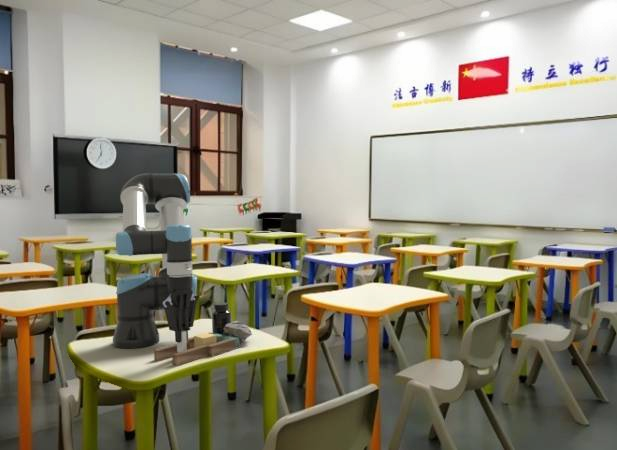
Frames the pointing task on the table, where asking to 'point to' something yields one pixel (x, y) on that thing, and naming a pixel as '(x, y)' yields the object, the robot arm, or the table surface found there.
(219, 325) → the supplement bottle
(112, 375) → the table surface
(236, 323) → the mineral specimen
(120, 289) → the robot arm
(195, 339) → the block
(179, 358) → the chute
